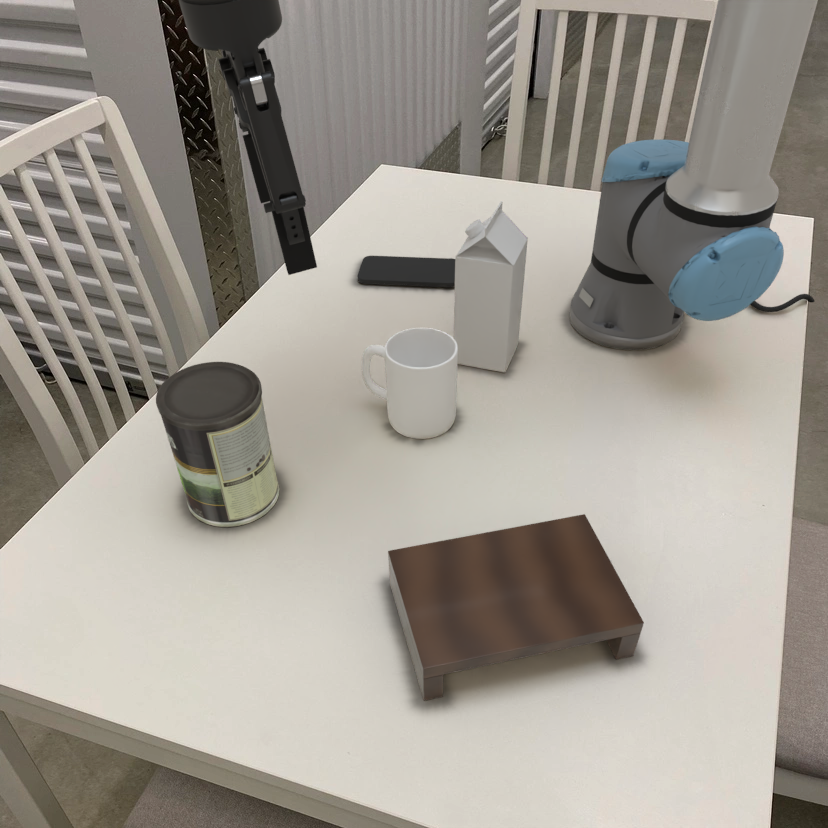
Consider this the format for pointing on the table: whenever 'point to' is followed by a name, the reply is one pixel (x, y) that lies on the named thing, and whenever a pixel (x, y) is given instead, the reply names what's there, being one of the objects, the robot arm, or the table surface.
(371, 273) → the phone
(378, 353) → the cup
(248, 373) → the coffee can
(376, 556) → the table surface
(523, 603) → the shelf
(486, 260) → the milk carton
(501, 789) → the table surface
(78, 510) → the table surface
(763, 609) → the table surface
